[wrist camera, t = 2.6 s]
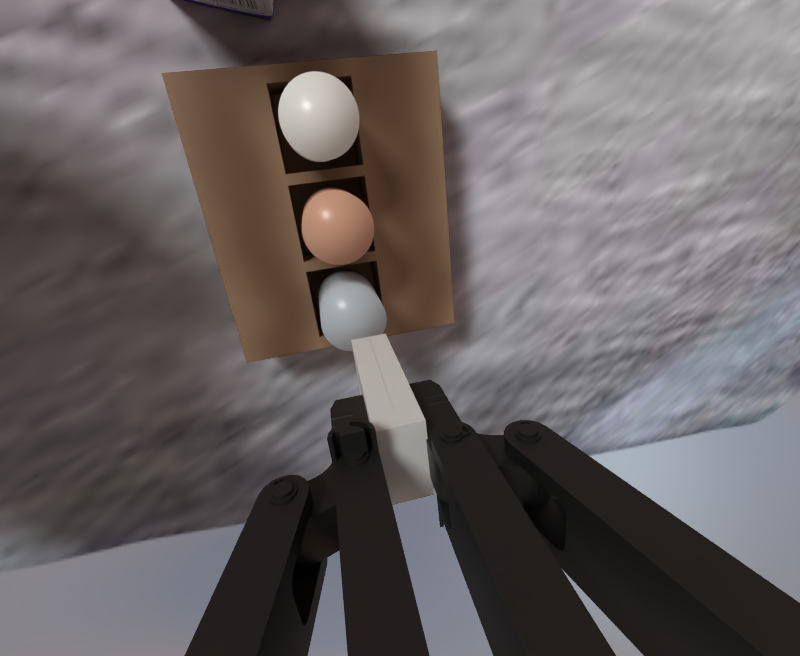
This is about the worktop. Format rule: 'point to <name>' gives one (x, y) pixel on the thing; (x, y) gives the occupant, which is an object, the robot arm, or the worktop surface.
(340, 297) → the pale blue egg
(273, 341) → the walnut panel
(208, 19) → the worktop surface
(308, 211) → the brown egg
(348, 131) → the white egg
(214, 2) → the supplement box
